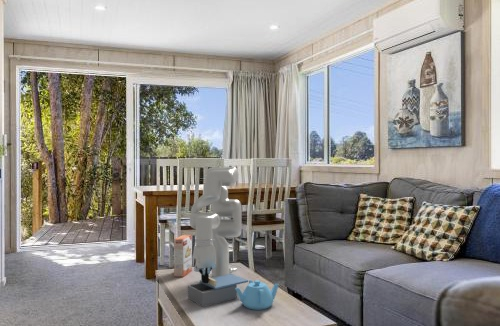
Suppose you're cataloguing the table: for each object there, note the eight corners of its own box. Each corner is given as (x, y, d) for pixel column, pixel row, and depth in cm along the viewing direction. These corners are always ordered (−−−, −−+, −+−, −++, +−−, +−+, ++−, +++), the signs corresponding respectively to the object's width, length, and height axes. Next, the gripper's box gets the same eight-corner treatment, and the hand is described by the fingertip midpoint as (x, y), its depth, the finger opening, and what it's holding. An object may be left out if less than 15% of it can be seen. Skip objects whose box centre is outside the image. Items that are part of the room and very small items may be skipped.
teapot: (233, 307, 180) (232, 283, 180) (250, 297, 193) (249, 274, 193) (264, 313, 173) (264, 288, 172) (280, 302, 186) (279, 278, 186)
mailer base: (220, 290, 204) (220, 278, 204) (236, 298, 192) (236, 285, 192) (187, 298, 193) (187, 285, 193) (203, 306, 182) (202, 293, 182)
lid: (231, 275, 208) (231, 268, 208) (248, 281, 196) (248, 274, 196) (199, 282, 197) (199, 275, 197) (215, 289, 185) (215, 282, 185)
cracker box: (184, 277, 227) (183, 239, 227) (173, 276, 229) (173, 239, 228) (192, 270, 241) (192, 234, 241) (182, 270, 242) (182, 234, 242)
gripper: (214, 239, 198) (214, 277, 198) (185, 243, 189) (186, 283, 189) (222, 241, 192) (223, 281, 192) (193, 246, 183) (194, 287, 183)
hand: (205, 282), depth 190 cm, fingers closed
